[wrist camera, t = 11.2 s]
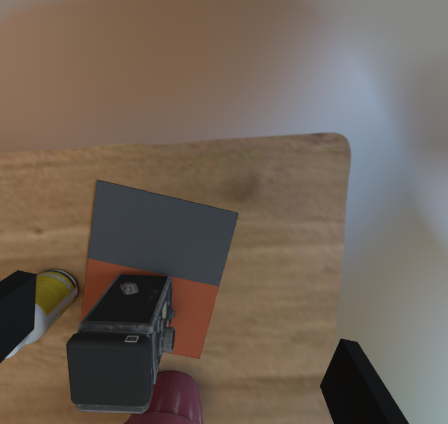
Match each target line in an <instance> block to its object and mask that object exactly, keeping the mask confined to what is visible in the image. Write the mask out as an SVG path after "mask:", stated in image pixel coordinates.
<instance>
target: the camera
mask: <svg viewBox="0 0 448 424" xmlns="http://www.w3.org/2000/svg"><path fill="white" fill-rule="evenodd" d="M172 318H173V319H174V318H175V310H172V277H171V276H169V277H168V276H147V275H125V274H118V275H117V276H116V278H115V279H114V280H113V281H112V283H111V284H110V285H109V286H108V288H107V289H106V290H105V292H104V293H103V294H102V295H101V297H100V298H99V299H98V300H97V302H96V303H95V304H94V306H93V307H92V308H91V309H90V311H89V312H88V313H87V314H86V316H85V317H84V318H83V320H82V321H81V322H80V323H79V325H78V332H77V333H76V334H74V335H73V336H72V337H71V338H70V340H69V341H68V342H67V344H66V348H67V359H68V370H69V381H70V392H71V400H72V402H73V403H75V404H76V408H77V409H78V410H81V411H83V412H112V413H143V412H144V411H146V410H147V409H148V407H149V405H150V402H151V398H152V394H153V384H155V383H156V379H157V370H158V366H159V363H160V359H161V356H162V353H163V352H166V353H172V352H173V348H174V343H175V327H170V324H171V321H172Z"/></svg>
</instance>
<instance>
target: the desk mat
mask: <svg viewBox="0 0 448 424" xmlns="http://www.w3.org/2000/svg"><path fill="white" fill-rule="evenodd" d="M237 217H238V213H236V212H232V211H228V210H223V209H219V208H215V207H211V206H206V205H202V204H198V203H194V202H189V201H185V200H181V199H177V198H172V197H168V196H164V195H160V194H155V193H151V192H147V191H143V190H138V189H134V188H130V187H126V186H121V185H117V184H113V183H109V182H104V181H100V180H97V187H96V195H95V204H94V212H93V221H92V229H91V238H90V246H89V255H88V263H87V272H86V280H85V289H84V297H83V306H82V314H81V321H82V320H83V318H84V317H85V316H86V314H87V313H88V312H89V311H90V309H91V308H92V307H93V306H94V304H95V303H96V302H97V300H98V299H99V298H100V297H101V295H102V294H103V293H104V292H105V290H106V289H107V288H108V286H109V285H110V284H111V283H112V281H113V280H114V279H115V278H116V276H117V275H118V274H125V275H147V276H168V277H169V276H171V277H172V310H175V318H174V319H173V318H172V321H171V324H170V327H175V343H174V348H173V352H172V354H177V355H182V356H187V357H192V358H197V359H200V355H201V351H202V348H203V344H204V340H205V336H206V333H207V329H208V325H209V321H210V318H211V314H212V310H213V307H214V303H215V299H216V295H217V292H218V288H219V284H220V281H221V277H222V273H223V269H224V266H225V262H226V258H227V254H228V251H229V247H230V243H231V240H232V236H233V232H234V228H235V225H236V221H237Z"/></svg>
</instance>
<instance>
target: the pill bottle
mask: <svg viewBox="0 0 448 424" xmlns="http://www.w3.org/2000/svg"><path fill="white" fill-rule="evenodd" d="M77 293H78V288H77V284H76V282H75V280H74V279H73V278H72V277H71V276H70V275H69V274H68V273H66V272H64V271H61V270H56V269H52V270H47V271H44V272H42V273H40V274H39V275H38V276H37V280H36V303H35V326H34V330H33V331H32V332H31V333H30V334H29V335H28V336H27V337H26V338H25V339H24V340H23V341H22V342H21V343H20V344H19V345H18V346H17V347H16V348H15V349H14V350H13V351H12V352H11V353H10V354H9V355H8V356H7V357H6V358H9V357H11V356H13V355H14V354H15V353H16V352H17V351H18V350H20V349H21V348H22V346H23V345H26V344H30V343H33V342H35V341H37V340H38V339H39V338H41V337H42V336H43V335H44V334H45V332H46V331H47V330H48V329H49V328H50V327H51V326H52V325H53V324H54V323H55V321H56V320H57V319H58V318H59V317H60V316H61V315H62V314H63V313H64V312H65V310H66V309H67V308H68V307H69V306H70V305H71V304H72V303H73V302H74V300H75V299H76V297H77ZM6 358H5V359H6Z"/></svg>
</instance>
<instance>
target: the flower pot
mask: <svg viewBox="0 0 448 424" xmlns="http://www.w3.org/2000/svg"><path fill="white" fill-rule="evenodd" d="M124 424H203V419H202V410H201V403H200V396H199V389H198V386H197V384H196V382H195V381H194V380H193V379H192V378H191V377H190V376H188V375H187V374H184V373H181V372H177V371H166V372H163V373H160V374H158V375H157V379H156V383H155V384H153V394H152V398H151V402H150V405H149V407H148V409H147V410H146V411H144V412H143V413H131V415H130V417H129V419H128V421H126V422H125V423H124Z"/></svg>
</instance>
